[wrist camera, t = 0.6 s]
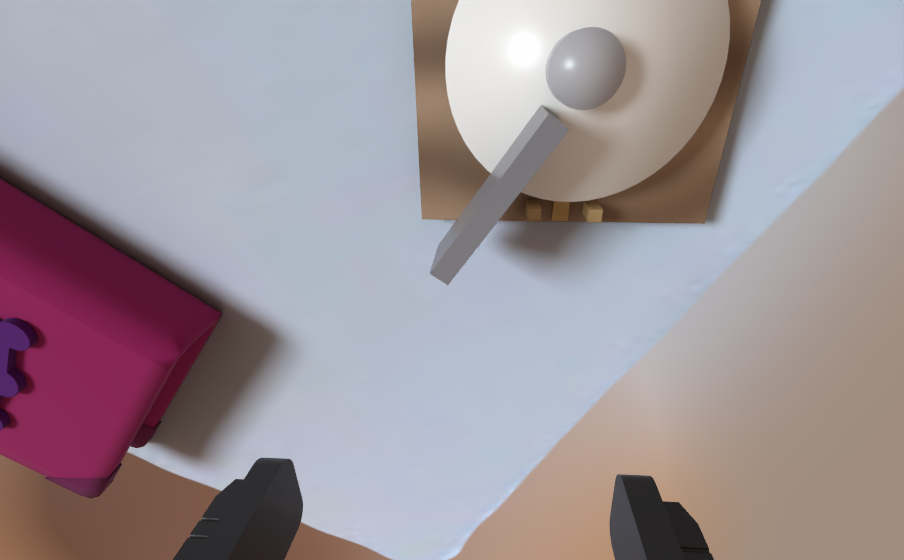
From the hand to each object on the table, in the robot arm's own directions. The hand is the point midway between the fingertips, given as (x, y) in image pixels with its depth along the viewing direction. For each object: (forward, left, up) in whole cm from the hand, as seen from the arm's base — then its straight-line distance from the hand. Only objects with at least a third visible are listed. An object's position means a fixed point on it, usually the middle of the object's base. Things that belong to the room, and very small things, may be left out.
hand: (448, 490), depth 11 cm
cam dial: (-7, +4, -20) cm, 22 cm away
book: (+8, -38, -23) cm, 45 cm away
